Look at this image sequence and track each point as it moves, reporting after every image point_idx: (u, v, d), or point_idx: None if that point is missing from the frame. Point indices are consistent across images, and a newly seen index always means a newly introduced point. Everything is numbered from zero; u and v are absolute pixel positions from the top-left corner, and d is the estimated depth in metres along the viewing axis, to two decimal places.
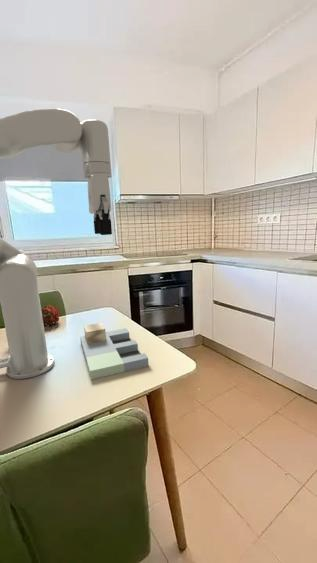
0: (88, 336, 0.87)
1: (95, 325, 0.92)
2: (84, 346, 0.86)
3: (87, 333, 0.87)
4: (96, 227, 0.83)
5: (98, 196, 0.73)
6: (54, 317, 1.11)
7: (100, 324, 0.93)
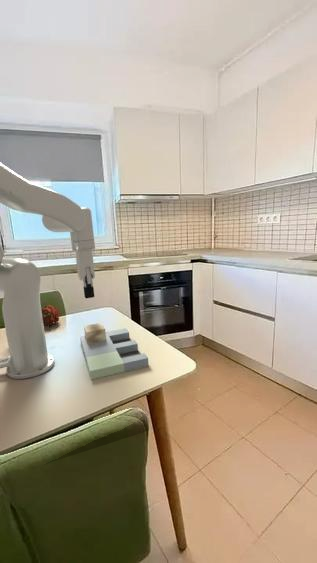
0: (88, 336, 0.87)
1: (95, 325, 0.92)
2: (84, 346, 0.86)
3: (87, 333, 0.87)
4: None
5: (84, 268, 0.90)
6: (54, 317, 1.11)
7: (100, 324, 0.93)
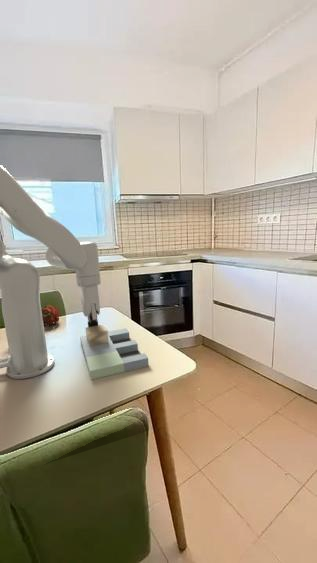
0: (90, 338, 0.86)
1: (97, 327, 0.91)
2: (84, 346, 0.86)
3: (89, 335, 0.85)
4: None
5: (89, 305, 0.87)
6: (54, 317, 1.11)
7: (102, 326, 0.91)
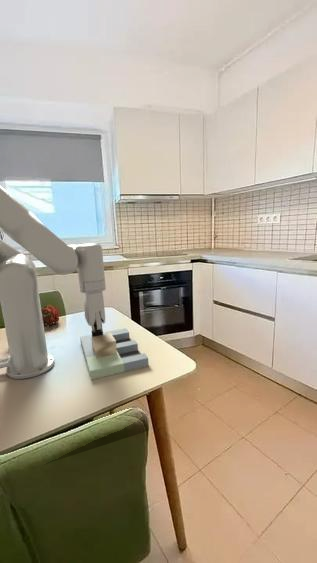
0: (97, 349, 0.78)
1: (104, 336, 0.83)
2: (84, 346, 0.86)
3: (96, 346, 0.78)
4: None
5: (93, 313, 0.79)
6: (54, 317, 1.11)
7: (109, 335, 0.84)
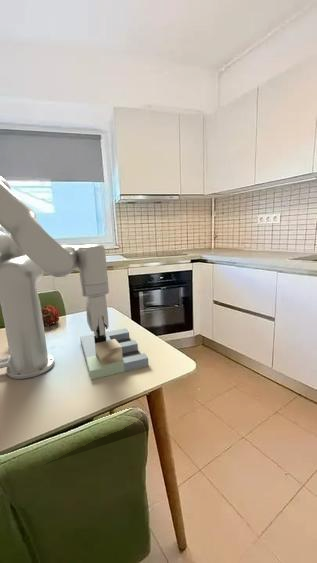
0: (102, 356, 0.74)
1: (108, 342, 0.79)
2: (84, 346, 0.86)
3: (101, 353, 0.74)
4: (97, 342, 0.81)
5: (96, 318, 0.75)
6: (54, 317, 1.11)
7: (114, 341, 0.80)
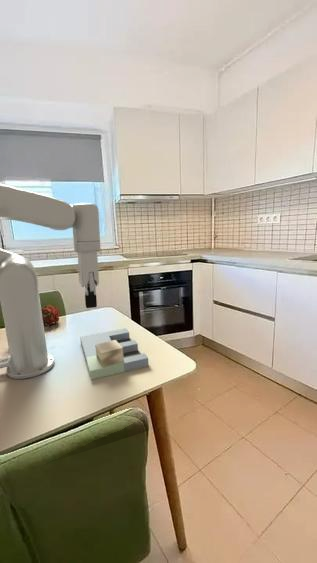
0: (103, 357, 0.73)
1: (109, 343, 0.78)
2: (84, 346, 0.86)
3: (102, 354, 0.73)
4: None
5: (87, 273, 0.78)
6: (54, 317, 1.11)
7: (114, 342, 0.79)
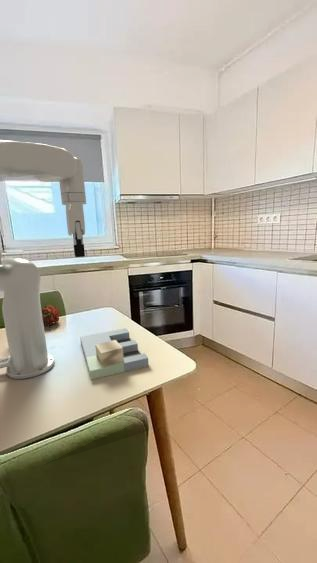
0: (103, 357, 0.73)
1: (109, 343, 0.78)
2: (84, 346, 0.86)
3: (102, 354, 0.73)
4: None
5: (73, 222, 0.85)
6: (54, 317, 1.11)
7: (114, 342, 0.79)
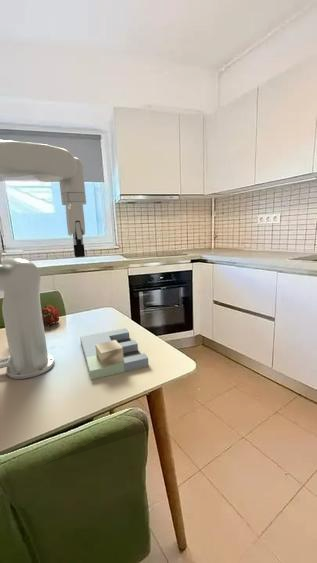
0: (103, 357, 0.73)
1: (109, 343, 0.78)
2: (84, 346, 0.86)
3: (102, 354, 0.73)
4: None
5: (73, 222, 0.85)
6: (54, 317, 1.11)
7: (114, 342, 0.79)
